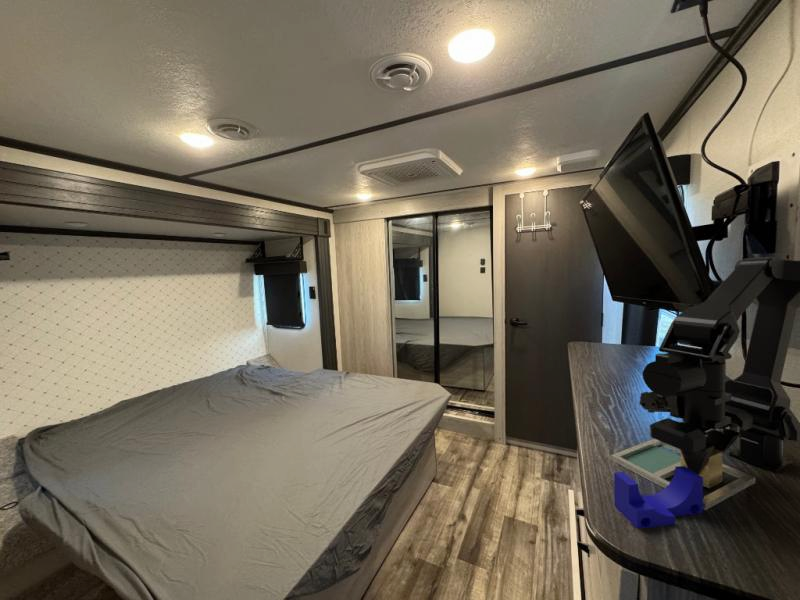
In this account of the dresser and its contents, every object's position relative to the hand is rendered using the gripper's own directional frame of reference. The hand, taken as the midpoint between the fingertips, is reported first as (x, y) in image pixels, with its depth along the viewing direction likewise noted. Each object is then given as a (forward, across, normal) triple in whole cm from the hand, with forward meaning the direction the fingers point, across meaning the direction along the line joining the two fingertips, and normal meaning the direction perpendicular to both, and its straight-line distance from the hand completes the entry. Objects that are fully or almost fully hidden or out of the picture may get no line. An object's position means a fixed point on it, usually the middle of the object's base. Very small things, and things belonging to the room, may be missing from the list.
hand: (701, 470), depth 55 cm
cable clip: (+2, +14, +2) cm, 14 cm away
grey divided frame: (+2, 0, -4) cm, 4 cm away
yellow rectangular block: (+1, 0, 0) cm, 1 cm away
